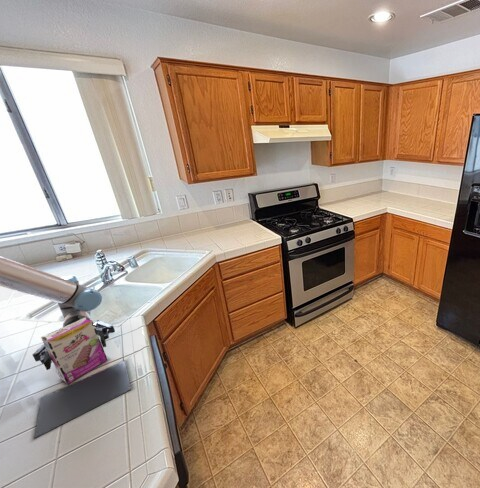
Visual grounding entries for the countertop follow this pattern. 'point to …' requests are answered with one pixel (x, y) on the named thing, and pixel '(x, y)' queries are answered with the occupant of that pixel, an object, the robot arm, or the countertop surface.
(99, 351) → the candy bar box
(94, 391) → the slate placemat
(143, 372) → the countertop surface
